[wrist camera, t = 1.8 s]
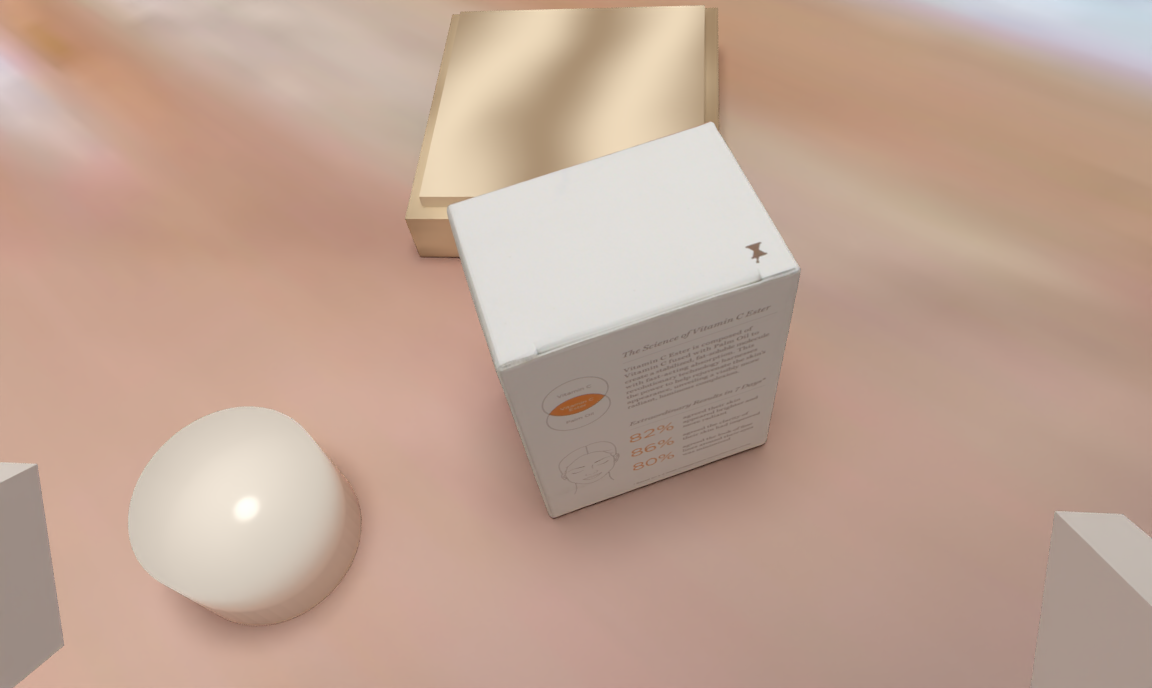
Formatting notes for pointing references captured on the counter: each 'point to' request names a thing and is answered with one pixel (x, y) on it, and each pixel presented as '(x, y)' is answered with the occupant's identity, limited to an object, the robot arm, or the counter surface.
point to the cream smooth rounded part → (245, 517)
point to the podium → (555, 98)
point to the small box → (631, 313)
